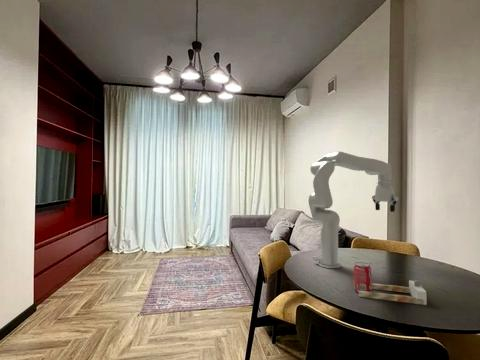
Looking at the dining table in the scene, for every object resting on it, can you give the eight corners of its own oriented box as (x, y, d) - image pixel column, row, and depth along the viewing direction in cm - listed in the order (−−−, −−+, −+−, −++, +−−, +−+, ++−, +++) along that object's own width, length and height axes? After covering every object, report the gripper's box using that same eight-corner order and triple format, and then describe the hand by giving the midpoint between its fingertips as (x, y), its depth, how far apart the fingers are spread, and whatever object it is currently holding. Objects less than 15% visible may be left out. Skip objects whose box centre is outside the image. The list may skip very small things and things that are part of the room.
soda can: (366, 288, 119) (366, 261, 119) (375, 294, 112) (374, 266, 112) (351, 288, 119) (350, 261, 119) (358, 295, 112) (358, 266, 112)
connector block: (417, 303, 104) (417, 285, 104) (409, 291, 115) (408, 275, 115) (426, 304, 103) (426, 286, 103) (417, 292, 114) (416, 276, 114)
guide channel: (359, 296, 110) (358, 291, 110) (356, 285, 122) (356, 281, 122) (423, 304, 103) (423, 299, 103) (414, 292, 114) (414, 287, 114)
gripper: (368, 183, 170) (368, 209, 170) (394, 183, 154) (394, 212, 154) (376, 183, 173) (376, 209, 173) (402, 183, 158) (402, 212, 158)
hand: (384, 210), depth 164 cm, fingers open, 9 cm apart
